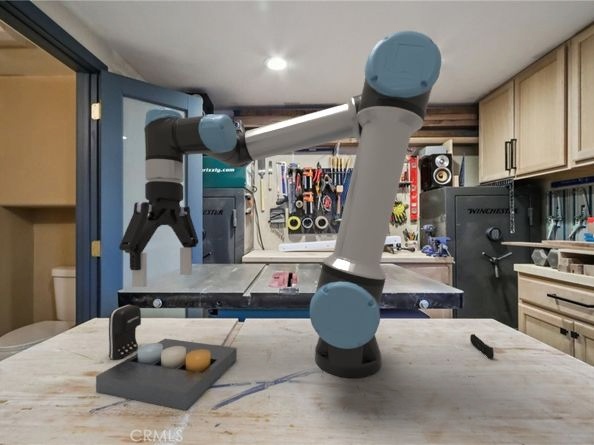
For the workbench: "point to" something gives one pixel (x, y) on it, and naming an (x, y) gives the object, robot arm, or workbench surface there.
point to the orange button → (198, 360)
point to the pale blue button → (150, 353)
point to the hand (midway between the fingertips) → (165, 280)
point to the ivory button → (173, 357)
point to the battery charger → (123, 331)
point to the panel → (166, 377)
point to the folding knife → (482, 346)
